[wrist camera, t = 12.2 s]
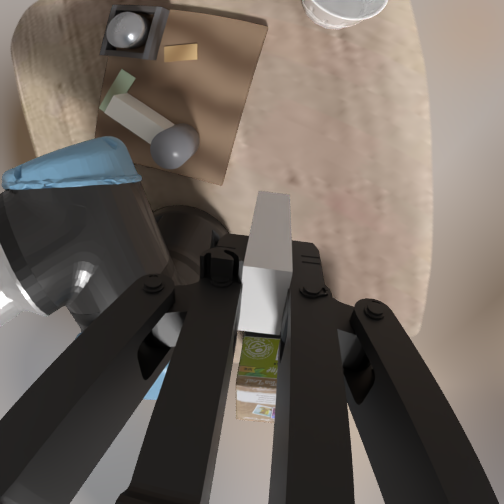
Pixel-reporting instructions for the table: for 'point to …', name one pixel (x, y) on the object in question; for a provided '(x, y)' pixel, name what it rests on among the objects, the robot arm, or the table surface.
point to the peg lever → (155, 131)
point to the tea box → (257, 377)
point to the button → (128, 30)
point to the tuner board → (184, 82)
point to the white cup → (341, 11)
